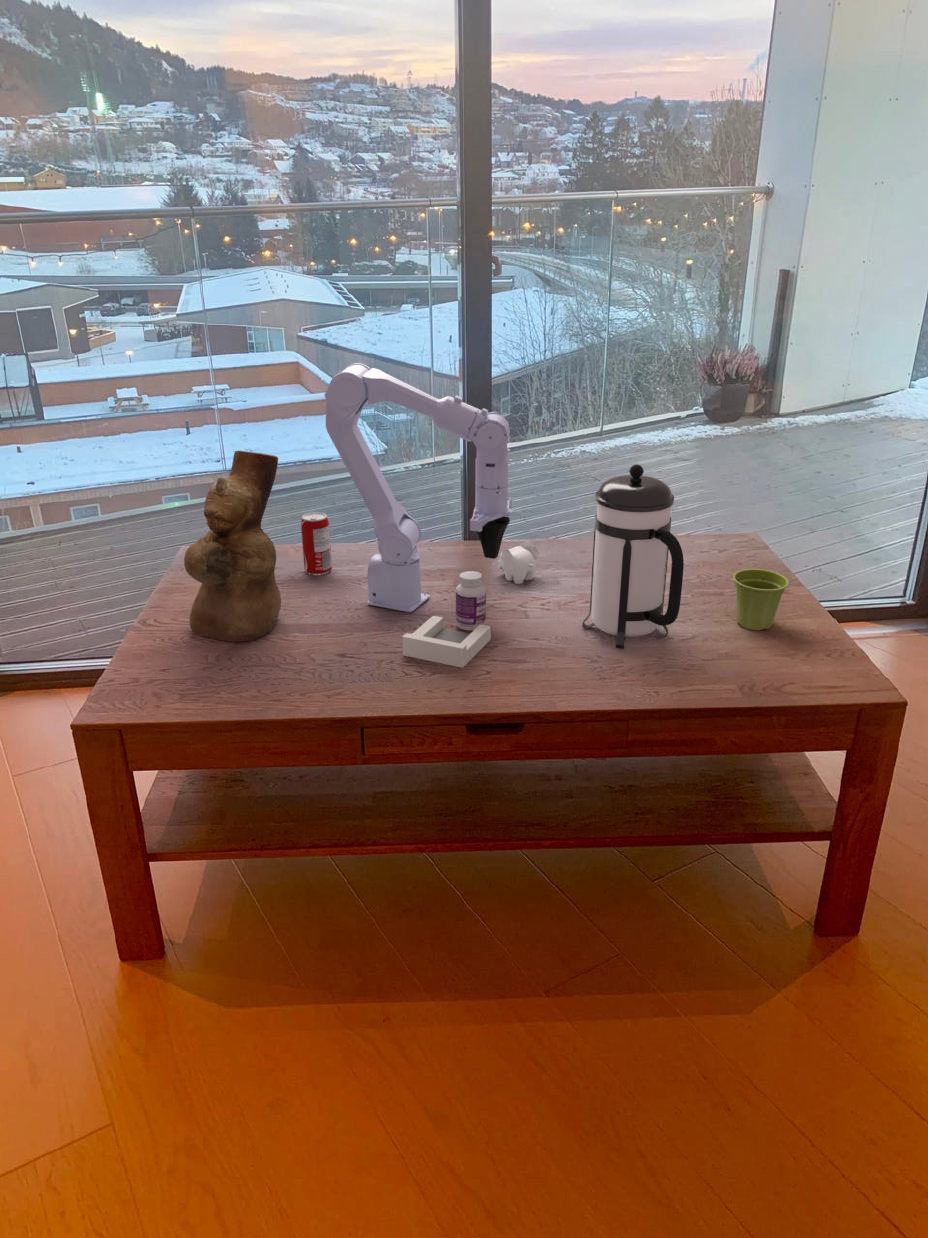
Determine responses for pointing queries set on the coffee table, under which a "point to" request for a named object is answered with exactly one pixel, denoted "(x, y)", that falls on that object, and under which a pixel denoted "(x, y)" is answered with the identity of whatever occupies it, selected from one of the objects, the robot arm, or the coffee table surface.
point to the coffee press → (634, 557)
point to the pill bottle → (470, 601)
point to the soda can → (316, 543)
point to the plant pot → (758, 597)
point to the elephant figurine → (518, 562)
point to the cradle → (445, 643)
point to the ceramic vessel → (236, 555)
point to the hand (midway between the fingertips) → (491, 556)
